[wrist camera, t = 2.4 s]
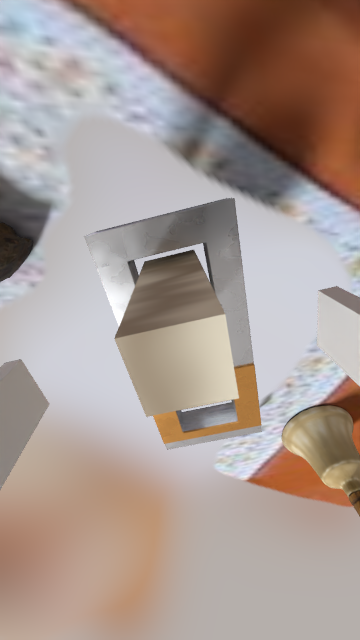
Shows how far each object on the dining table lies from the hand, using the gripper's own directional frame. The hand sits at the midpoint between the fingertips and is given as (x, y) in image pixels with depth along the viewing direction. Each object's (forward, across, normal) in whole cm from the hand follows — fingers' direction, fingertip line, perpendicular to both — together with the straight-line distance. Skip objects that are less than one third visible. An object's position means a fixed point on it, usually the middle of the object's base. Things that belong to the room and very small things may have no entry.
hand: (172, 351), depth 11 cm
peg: (+10, 0, 0) cm, 10 cm away
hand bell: (+11, +12, -22) cm, 27 cm away
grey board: (+10, 0, -6) cm, 12 cm away
